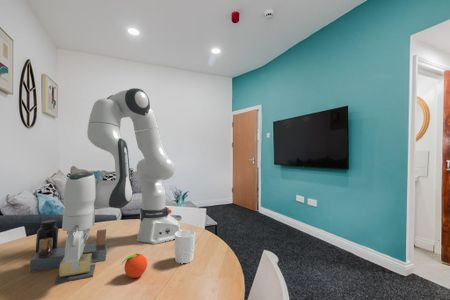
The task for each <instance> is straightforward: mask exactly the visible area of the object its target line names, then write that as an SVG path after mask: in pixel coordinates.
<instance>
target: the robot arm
mask: <svg viewBox="0 0 450 300" xmlns="http://www.w3.org/2000/svg"><path fill="white" fill-rule="evenodd" d="M123 118H129V119H131V121H132V123H133V131H134V134H135V135H134V136H135V139H136V144H137V148H138V150H139V151H140V152H141V153H142V156H143V158H142V159H141V160H139V161H138V163H137V164H136V167H135V168H136V172H137V174H138V177H139V181H140V182H139V183H140V187H141V188H140V190H141V207H140V212H139V221H140V224H139V228H138V229H139V230H138V231H137V232H138V233H137V236H136V240H137V241H139V242H141V243H149V244H152V245H155V244H156V245H157V244H161V243H165V241H166V242H170V241H169V240H171V241H174V240H173V239H175V233H176V232H177V231H181V230H183V229H182V228H181V225H180V222H179V221H178V220H177V219H176V218H174V217H173V216H171V213H172V209H171V208H169V207H167V206H166V194H167V193H166V190H165V187H164V185H163V182H162V181H166V180H168V179H171V178H172V177H173V176H174V174H175V172H176V171H175V170H176V166H175V163H174V162H173V161H172V160H171V158H170V157H169V156H168V154H167V152H166V149H165V147H164V145H163V142H162V138H161V133H160V129H159V124H158V121H157V120H158V119H157V118H156V115H155V112H154V111H153V109H152V108H151V105H150V99H149V96H148V95H147V92H145V91H144V90H143V89H141V88H130V89H125V90H120V91H119V92H117V93H115V94H111V95H110V96H108V97H107V98H99V99H97V100H96V101H95V102H94V103H93V105H92V109H91V112H90V115H89V119H88V123H87V131H86V133H87V138H88V140H89V143H91V144H92V145H94V146H95V147H96V148H98V149H101V150H103V151H106V152H108V153H110V154H111V155H112V156H113V159H114V169H115V171H114V172H115V179H114V180H101V179H97V178H95V174H94V173H93V172H89V171H86V172H85V171H83V172H82V171H81V172H75V173H72V174H70V175H69V176H68V177H67V178H66V181H65V186H64V190H63V191H64V193H63V203H64V210H63V212H62V223H61V224H62V225H61V230H62V231H65V232H66V234H67V237H66V239H65V257H64V261H65V263H71V270H72V271H73V270H77V269H78V267H79V259H80V257H81V255H82V254H83V249H84V247H85V245H87V243H88V240H89V237H90V231H91V228H93V227H94V226H95V219H96V218H95V215H96V214H95V213H96V209H95V207H97V208H98V207H99V208H101V207H103V208H114V209H122V208H125V207H126V206H127V205H128V204H129V203H131V201H132V199H133V185H132V182H131V173H130V172H131V171H130V159H129V149H128V144H127V141H126V140H124V139H123V138H122V136H121V121H122V119H123Z"/></svg>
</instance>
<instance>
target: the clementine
mask: <svg viewBox="0 0 450 300" xmlns="http://www.w3.org/2000/svg"><path fill="white" fill-rule="evenodd" d="M123 264H124V267H123V268H124V272H125V274H126V276H128V277H129V278H134V279H135V278H139V277H140V276H142V275H143V274H144V273H145V271H146V270H147V267H148V260H147V258H146V256H145V255H143V254H141V253H134V254H132V255H129V256H127V257H126V258H125V259H124V260H123V261H122V263H121V265H123Z"/></svg>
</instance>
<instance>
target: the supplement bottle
mask: <svg viewBox="0 0 450 300" xmlns="http://www.w3.org/2000/svg"><path fill="white" fill-rule="evenodd" d="M58 237H59V228H58V226H57V220H56V219H47V220H43V221H41V222H40V227H39V228H38V230H37V232H36V238H35V248H34V249H35V250H34V251H35V254H36V253H37V252H38V251H39V242H40V240H41V239H44V238H53V244H52V249H56V248H58V242H59V241H58V239H59V238H58Z"/></svg>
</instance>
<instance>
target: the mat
mask: <svg viewBox="0 0 450 300" xmlns="http://www.w3.org/2000/svg"><path fill="white" fill-rule="evenodd" d="M95 269H96V263H92V264H91V268H90V272H86V273H81V274H75V275H69V276H64V277H59V273H60V271H59V272H58V274H57V276H56V278H55V280H54V282H53V285H57V284H61V283H67V282H72V281H77V280H83V279H89V278H93V276H94V273H95Z"/></svg>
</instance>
